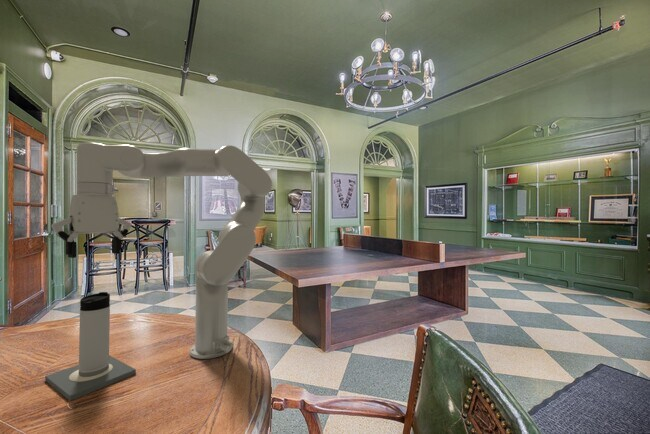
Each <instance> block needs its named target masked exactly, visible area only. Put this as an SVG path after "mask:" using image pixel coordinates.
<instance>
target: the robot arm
mask: <svg viewBox="0 0 650 434" xmlns="http://www.w3.org/2000/svg"><path fill="white" fill-rule="evenodd" d="M113 171H117V172H118V173H119V174H121V175H123V176H125V177H128V178H168V177H169V178H170V177H173V178H174V177H175V178H176V177H179V178H180V177H228V176H231V177H232V178H233V179H234V180H235V181H236V182H238V183H237V190H238V193H239V198H240V204H239V206H238V208H237V209H236V211H235V212H234V214H233V215H232V216H231V218H230V219H229V220H228V221H227V223H226V224H225V225H224V226H223V227H222V229H221V230H220V231H219V234H218V236H217V240H218V244H217V245H216V247H215V249H214V250H213V249H212V250H207V251H204V252H202V253H201V254H199V256H198V257H197V259H196V261H195V264H194V278H195V322H194V323H195V327H194V328H195V333H194V334H195V336H194V337H195V338H194V340H195V342H194V344H193V345H192V346H191V347H190V348H189V355H190V356H191V357H192V358H194V359H197V360H198V359H200V360H207V359H208V360H210V359H214V358H218V357H221V356H225V355H227V354H228V353H230V351H231V350H232V349H233V348H234V343H233V342H232V341H230V336H229V335H228V318H229V317H228V314H229V313H228V309H229V308H228V307H229V305H228V303H229V301H228V300H229V289H228V283H230V281H232V279H233V278H234V277H235V275H236V274H237V273H238V272H239V270H240V268H242V266H243V264H244V263H245V262H246V260H247V259H248V257H249V256H250V255H251V253H252V252H253V249H254V248H255V245H256V240H257V237H256V233H255V230H256V228H257V226H258V225H259V224H260V221H261V220H262V218H263V217H264V212H265V199H264V197H265V196H268V195H269V194H270V192H271V191H272V187H273V182H272V179H271V177H270V175H269V174H268V172H266V171H265V170H264V169H263V168H262V167H261V166H259V164H257V162H255V161H254V160H253V159H252V158H251V157H250V156H249V155H248V154H246V153H245V152H244V151H243V150H242V149H240V148H239V147H237V146H234V145H228V144H227V145H224V146H221V147H220V148H219V149H215V148H214V149H213V148H212V149H211V148H210V149H209V148H193V147H181V148H176V149H175V150H171V151H168V152H167V151H166V152H155V153H153V152H152V153H150V152H143V150H141V148H139V147H137V146H135V145H130V144H103V143H98V142H87V141H86V142H81V143H79V144H78V145H77V146H76V194H71V195H72V196H71V199H70V203H69V211H68V217H67V218H64V219H62V220H59V221H56V222H54V223H52V224H51V225H50V227H51V228H52V230H53V231H54V233H55V234H56V235H57V236H58V237H59V238H60V239H62V240H63V241H64V242H65V255H66V256H67V257H68V258H71V259H74V258H77V242H76V241H75V239H76V238H78V237H79V236H80V235H81V234H83V235H84V234H85V235H86V234H87V235H88V234H110V235H111V236H112V237H113V238H112V239H111V254H115V255H117V254H118V255H119V254H120V253H121V250H122V239H124V237H125V236H126V235H127V234H128V233H129V230H130V229H131V227H132V223H131V222H129V221H127V220H125V219H123V218H120V216H119V215H120V214H119V207H118V203H117V198H116V196H113V195H114V194H117V193H119V188H118V187H114V182H113V178H114V177H113V174H114V173H113ZM66 225H67V231H68V233H66V232H65V231H64V229H63V227H64V226H66ZM120 225H121V226H123V227H122V229H121V230H120ZM119 230H120V231H119Z"/></svg>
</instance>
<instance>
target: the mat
mask: <svg viewBox="0 0 650 434" xmlns="http://www.w3.org/2000/svg"><path fill="white" fill-rule="evenodd" d="M136 372H137V369H136V368H134V367H132V366H131V365H128V364H126V363H125V362H123V361H121V360H119V359H118V358H115V357H113V356H112V355H110V354H109V368H108V369H107V370H106V371H104V372H103V373H101V374H98V375H95V376H90V377H82V376H80V375H79V364H77V365H74V366H71V367H68V368H65V369H64V368H63V370H62V369H61V370H59V371H56V372H52V373H50V374H46V375H45V378H44V379H45V380H44V381H45V382H46V383H48V385H50V386H51V387H52V388H54V389H55V390H56V391H57V392H58V393H59V394H60V395H62V396H63V397H64V398H65V399H67V400H68V401H69V402H71V401H73V400H76V399H78V398H81V397H83V396H85V395H88V394H90V393H93V392H96V391H97V390H98V391H99V390H100V389H102V388H105V387H108V386H109V385H113V384H114V383H117V382H119V381H122V380H124V379H126V378H129V377H132V376H133V375H136V374H137V373H136Z"/></svg>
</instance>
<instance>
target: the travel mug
mask: <svg viewBox="0 0 650 434" xmlns="http://www.w3.org/2000/svg"><path fill="white" fill-rule="evenodd" d="M110 297H111V295H110V293H108V291H101V292H99V293H94V294H89V295H87V296H84V297H82V298H80V305H79V307H80V309H79V338H78V339H79V342H78V344H79V345H78V365H79V375H80V376H82V377H90V376H95V375H98V374H101V373H103V372H104V371H106V370H107V369H108V368H109V355H110V332H111V331H110V330H111V329H110V322H111V320H110V318H111V316H110V314H111V306H110V305H111V304H110V302H111V298H110Z"/></svg>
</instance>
